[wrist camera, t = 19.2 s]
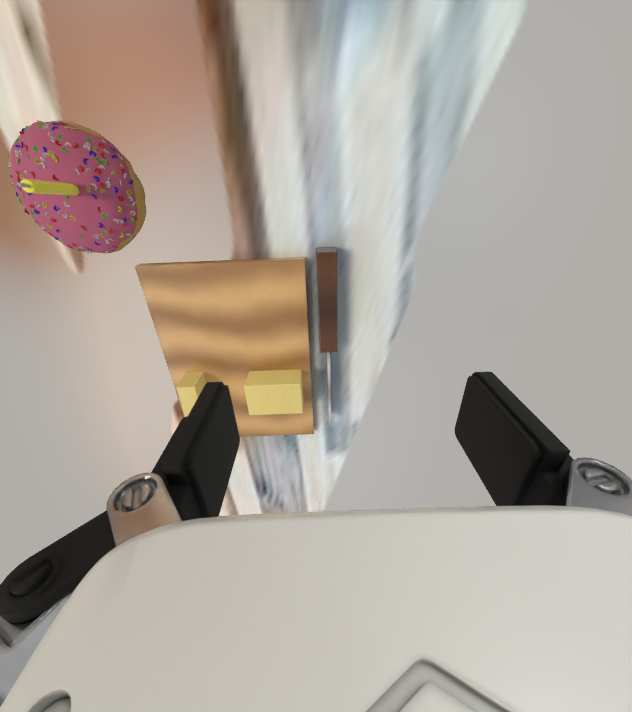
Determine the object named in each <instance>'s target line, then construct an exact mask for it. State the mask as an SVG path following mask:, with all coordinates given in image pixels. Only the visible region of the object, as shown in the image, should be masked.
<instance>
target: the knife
mask: <svg viewBox="0 0 632 712" xmlns="http://www.w3.org/2000/svg"><path fill="white" fill-rule="evenodd" d="M316 259H317V286H318V313H319V341H320V352H321V353H324V352H327V392H328V419H329V424H331V376H330V352H337V251H336V249H335V247H322V248H316Z"/></svg>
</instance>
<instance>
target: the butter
mask: <svg viewBox="0 0 632 712" xmlns="http://www.w3.org/2000/svg"><path fill="white" fill-rule="evenodd" d="M244 390H245V395H246V400H247V406H248V411H249V415H270V414H298V413H303V400H304V396H303V381H302V370H301V369H293V370H266V371H249V373H248V376H247V379H246V381H245V384H244Z"/></svg>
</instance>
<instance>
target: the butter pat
mask: <svg viewBox="0 0 632 712" xmlns="http://www.w3.org/2000/svg"><path fill="white" fill-rule="evenodd" d="M205 384H206V379H205V375H204V372H187V373H186V374H185V375H184V377H183V378H182V380H181V381H180V382H179V384H178V385H177V387H176V389H177V392H178V395H179V398H180V402H181V405H182V408H183V411H184V414H185V417H186V416H188V415H189V413H190V411H191V409H192V408H193V406H194V404H195V402H196V400H197V399H198V397H199V395H200V393H201V391H202V390H203V388H204V386H205Z"/></svg>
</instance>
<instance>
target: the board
mask: <svg viewBox="0 0 632 712" xmlns="http://www.w3.org/2000/svg"><path fill="white" fill-rule="evenodd" d="M135 268H136V271H137V274H138V277H139V281H140V283H141V286H142V290H143V293H144V296H145V299H146V301H147V305H148V308H149V311H150V314H151V317H152V320H153V323H154V326H155V329H156V332H157V335H158V338H159V341H160V344H161V347H162V350H163V353H164V356H165V359H166V362H167V366H168V368H169V371H170V375H171V378H172V381H173V384H174V387H175V390H176V393H177V396H178V399H179V402H180V398H179V395H178V392H177V389H176V387H177V385H178V384H179V382H180V381H181V380H182V378H183V377H184V375H185V374H186V373H187V372H204V375H205V379H206V383H207V382H223V384H224V385H228V387H229V391H230V395H231V400H232V404H233V409H234V414H235V418H236V423H237V427H238V432H239V437H241V436H269V435H297V434H314V420H313V402H312V383H311V364H310V345H309V326H308V308H307V289H306V270H305V257H299V258H274V259H249V260H225V261H200V262H175V263H149V264H139V265H136V266H135ZM293 369H301V370H302V381H303V396H304V400H303V413H298V414H270V415H249V411H248V406H247V400H246V395H245V390H244V384H245V381H246V379H247V376H248V373H249V371H266V370H293ZM180 405H181V402H180ZM181 408H182V405H181ZM182 411H183V408H182ZM183 414H184V411H183ZM184 417H185V414H184Z"/></svg>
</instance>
